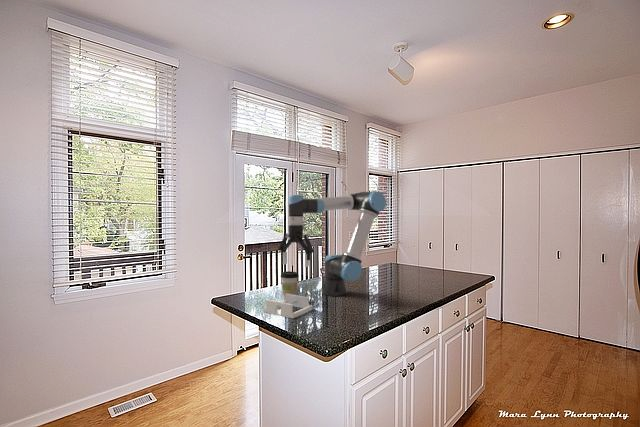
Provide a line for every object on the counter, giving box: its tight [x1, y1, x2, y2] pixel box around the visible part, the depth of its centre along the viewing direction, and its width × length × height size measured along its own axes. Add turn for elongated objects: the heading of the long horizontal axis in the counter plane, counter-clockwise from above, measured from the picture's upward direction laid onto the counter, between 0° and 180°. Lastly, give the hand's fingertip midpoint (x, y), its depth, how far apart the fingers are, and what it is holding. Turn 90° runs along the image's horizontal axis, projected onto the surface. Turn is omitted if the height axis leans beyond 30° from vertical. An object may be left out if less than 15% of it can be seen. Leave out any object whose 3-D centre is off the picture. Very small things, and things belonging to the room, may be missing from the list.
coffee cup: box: [280, 270, 299, 301], centre depth 187 cm, size 10×10×15 cm
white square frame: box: [263, 299, 314, 319], centre depth 168 cm, size 17×17×6 cm
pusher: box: [277, 294, 310, 310], centre depth 168 cm, size 15×14×6 cm
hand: (295, 265), depth 177 cm, fingers open, 13 cm apart
